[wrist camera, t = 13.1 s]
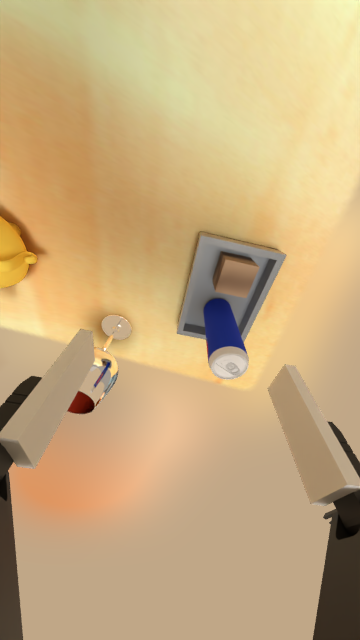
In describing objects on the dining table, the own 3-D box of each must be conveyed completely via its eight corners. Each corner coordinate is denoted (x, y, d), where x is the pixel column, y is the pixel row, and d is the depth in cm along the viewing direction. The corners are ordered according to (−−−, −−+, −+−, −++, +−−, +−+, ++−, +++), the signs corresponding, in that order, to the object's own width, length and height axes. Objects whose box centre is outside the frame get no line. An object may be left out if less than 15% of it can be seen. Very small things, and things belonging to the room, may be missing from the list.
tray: (200, 231, 31) (201, 235, 28) (277, 249, 32) (286, 255, 29) (177, 323, 41) (176, 333, 38) (238, 335, 42) (241, 346, 39)
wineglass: (139, 340, 44) (112, 418, 29) (105, 343, 45) (60, 420, 30) (130, 308, 39) (91, 380, 24) (91, 312, 40) (31, 383, 25)
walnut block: (221, 250, 32) (225, 259, 28) (250, 257, 32) (259, 267, 28) (212, 279, 35) (215, 291, 30) (239, 285, 35) (246, 298, 31)
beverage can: (197, 308, 38) (200, 365, 25) (219, 291, 36) (234, 344, 23) (214, 325, 40) (225, 386, 27) (236, 310, 37) (258, 368, 25)
